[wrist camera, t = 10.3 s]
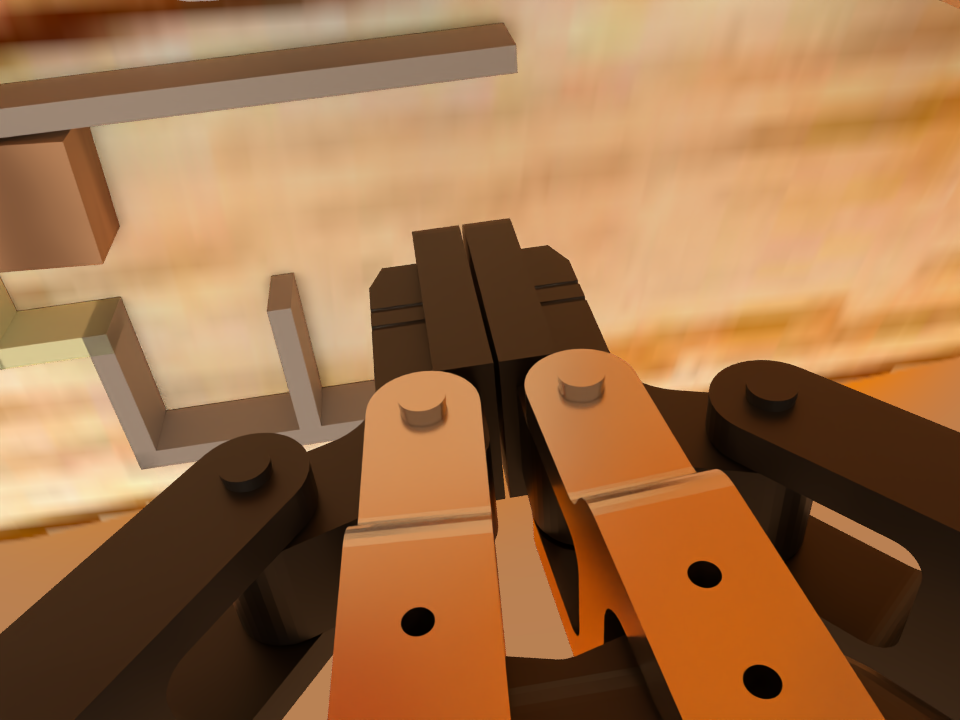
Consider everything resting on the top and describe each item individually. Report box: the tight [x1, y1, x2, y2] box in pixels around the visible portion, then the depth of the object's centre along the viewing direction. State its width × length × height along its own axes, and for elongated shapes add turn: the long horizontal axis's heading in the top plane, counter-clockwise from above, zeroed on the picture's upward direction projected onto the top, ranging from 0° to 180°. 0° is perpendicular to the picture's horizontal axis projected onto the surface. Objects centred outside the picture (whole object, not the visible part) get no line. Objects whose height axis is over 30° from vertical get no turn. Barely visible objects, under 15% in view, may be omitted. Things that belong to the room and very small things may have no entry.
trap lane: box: [0, 23, 518, 470], centre depth 43 cm, size 28×21×4 cm
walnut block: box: [0, 127, 120, 272], centre depth 39 cm, size 6×6×4 cm
